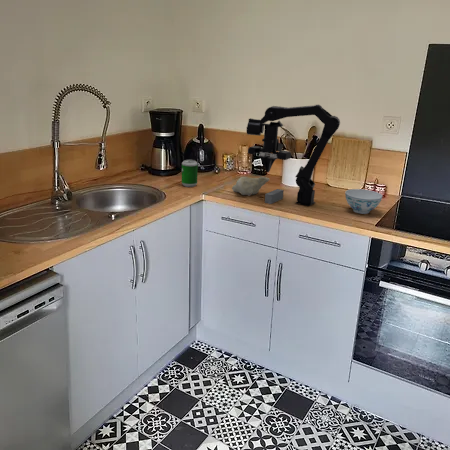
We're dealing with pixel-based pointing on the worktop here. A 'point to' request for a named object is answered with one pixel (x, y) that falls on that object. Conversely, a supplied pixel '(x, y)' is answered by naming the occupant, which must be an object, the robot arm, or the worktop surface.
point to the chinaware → (362, 200)
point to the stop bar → (274, 196)
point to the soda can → (189, 173)
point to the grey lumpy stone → (249, 185)
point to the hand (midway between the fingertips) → (267, 172)
